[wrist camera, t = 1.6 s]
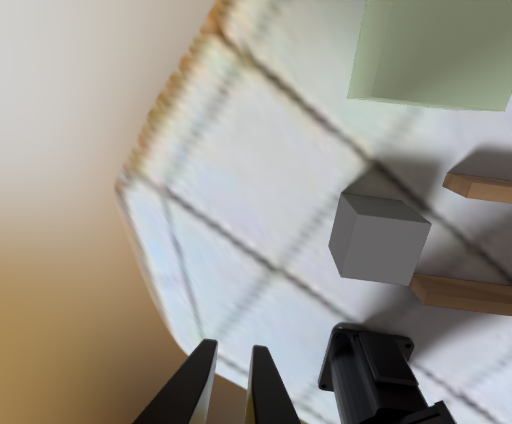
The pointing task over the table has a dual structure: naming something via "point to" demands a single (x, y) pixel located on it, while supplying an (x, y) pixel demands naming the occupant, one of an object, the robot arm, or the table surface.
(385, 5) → the sage green block
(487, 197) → the walnut slot rack
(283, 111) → the table surface
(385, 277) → the slate grey cube
